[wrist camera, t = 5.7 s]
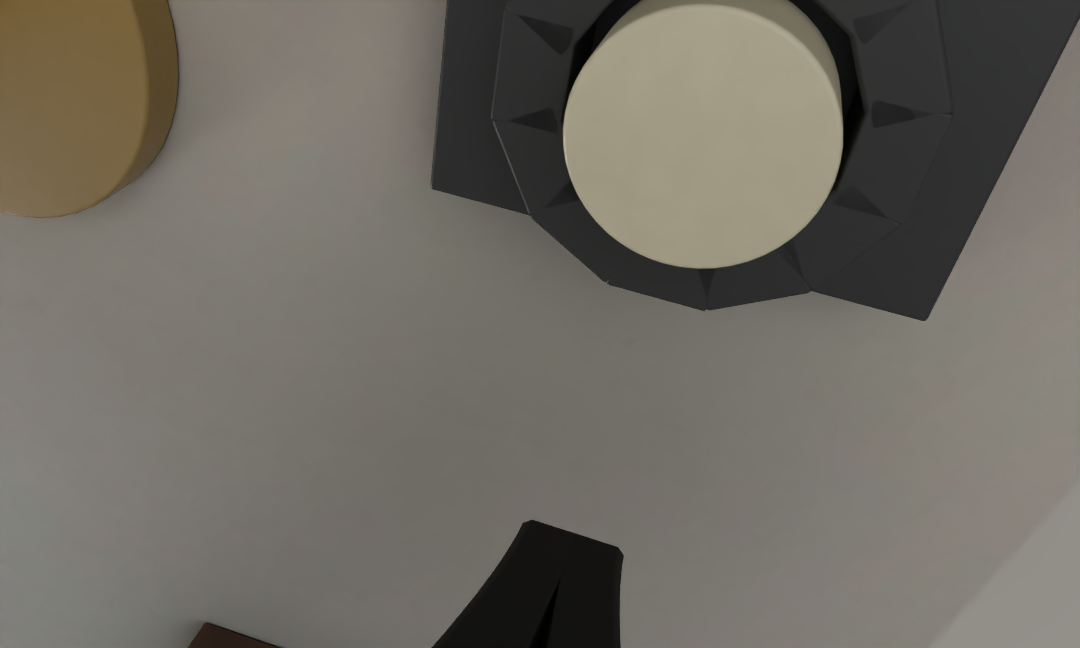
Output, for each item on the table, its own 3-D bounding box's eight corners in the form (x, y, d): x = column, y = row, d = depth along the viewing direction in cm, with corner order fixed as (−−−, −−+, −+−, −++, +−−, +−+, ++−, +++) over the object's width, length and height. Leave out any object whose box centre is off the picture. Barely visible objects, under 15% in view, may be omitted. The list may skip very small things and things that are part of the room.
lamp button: (881, 10, 13) (889, 43, 11) (792, 247, 15) (789, 299, 13) (613, -50, 13) (588, -26, 12) (567, 188, 15) (541, 232, 14)
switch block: (1088, -94, 14) (1167, -48, 11) (916, 267, 18) (936, 379, 15) (504, -214, 15) (422, -204, 12) (464, 149, 20) (393, 229, 16)
